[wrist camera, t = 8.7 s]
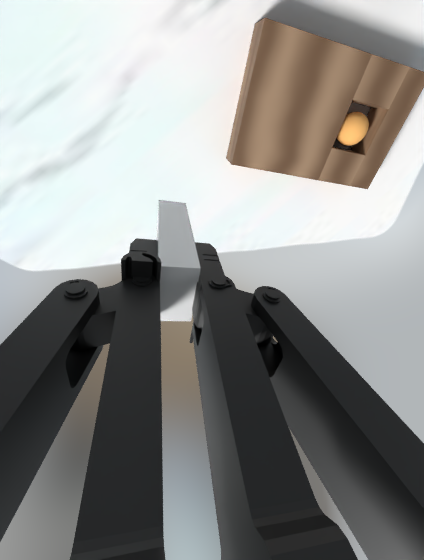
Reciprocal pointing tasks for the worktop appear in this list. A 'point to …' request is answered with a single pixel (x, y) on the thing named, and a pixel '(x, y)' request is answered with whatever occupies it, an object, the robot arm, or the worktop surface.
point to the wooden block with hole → (317, 106)
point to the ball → (353, 129)
